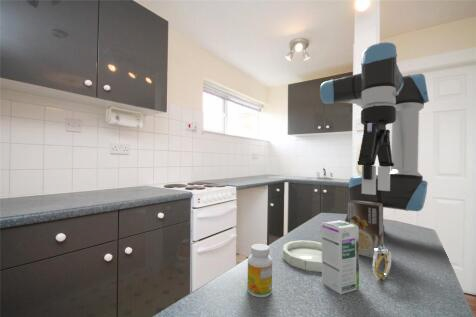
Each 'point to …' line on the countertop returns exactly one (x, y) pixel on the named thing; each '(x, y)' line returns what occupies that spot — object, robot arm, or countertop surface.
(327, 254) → the syrup box
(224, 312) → the countertop surface
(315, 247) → the ring dish
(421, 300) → the countertop surface
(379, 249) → the ring
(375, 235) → the coffee box
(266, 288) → the supplement bottle
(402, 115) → the robot arm
